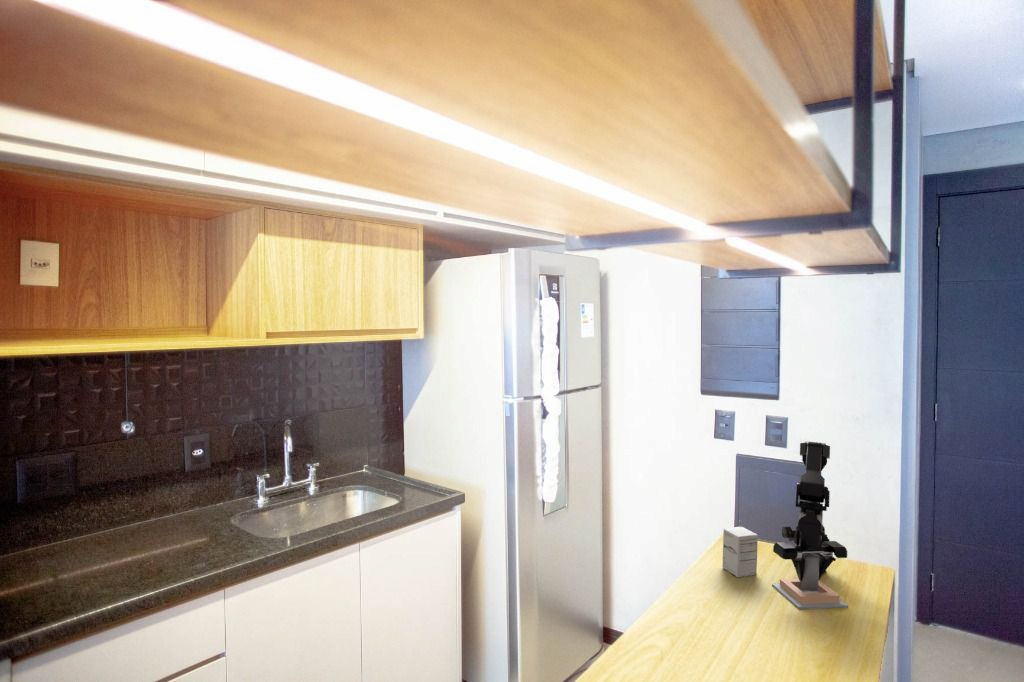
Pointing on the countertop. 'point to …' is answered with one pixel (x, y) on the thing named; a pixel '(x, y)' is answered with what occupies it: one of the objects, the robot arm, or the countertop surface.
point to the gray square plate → (809, 595)
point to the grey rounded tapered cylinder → (810, 572)
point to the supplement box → (740, 551)
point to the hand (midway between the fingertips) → (809, 579)
